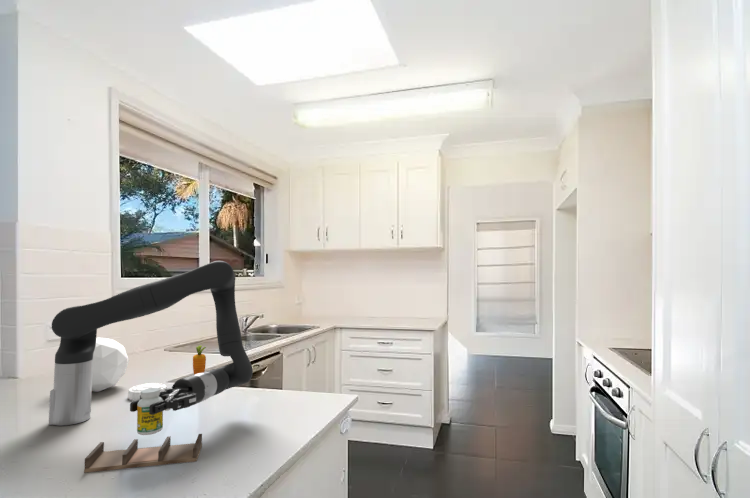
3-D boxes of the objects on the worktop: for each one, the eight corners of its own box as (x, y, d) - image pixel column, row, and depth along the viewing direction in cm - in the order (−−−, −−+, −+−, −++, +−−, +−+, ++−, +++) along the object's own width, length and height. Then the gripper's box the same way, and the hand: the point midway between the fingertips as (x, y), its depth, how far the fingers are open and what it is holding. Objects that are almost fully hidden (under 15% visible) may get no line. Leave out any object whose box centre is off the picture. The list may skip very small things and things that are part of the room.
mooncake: (174, 392, 153) (174, 382, 154) (149, 402, 142) (150, 391, 142) (145, 390, 156) (145, 381, 156) (119, 400, 144) (119, 389, 144)
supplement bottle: (161, 425, 103) (161, 385, 104) (164, 432, 99) (164, 390, 99) (135, 430, 100) (136, 389, 101) (137, 437, 96) (138, 394, 96)
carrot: (194, 382, 167) (195, 344, 168) (207, 382, 168) (208, 343, 169) (189, 385, 162) (191, 346, 163) (203, 385, 163) (204, 346, 164)
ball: (106, 410, 154) (113, 372, 145) (50, 392, 151) (53, 352, 143) (135, 373, 171) (143, 337, 162) (85, 356, 168) (90, 319, 160)
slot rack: (84, 472, 92) (84, 458, 92) (99, 455, 100) (99, 442, 101) (196, 461, 98) (197, 447, 98) (202, 445, 106) (202, 433, 106)
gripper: (174, 372, 116) (118, 389, 100) (217, 377, 111) (164, 395, 95) (174, 400, 116) (117, 421, 100) (216, 406, 111) (164, 429, 95)
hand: (141, 408), depth 97 cm, fingers closed on supplement bottle, 5 cm apart
